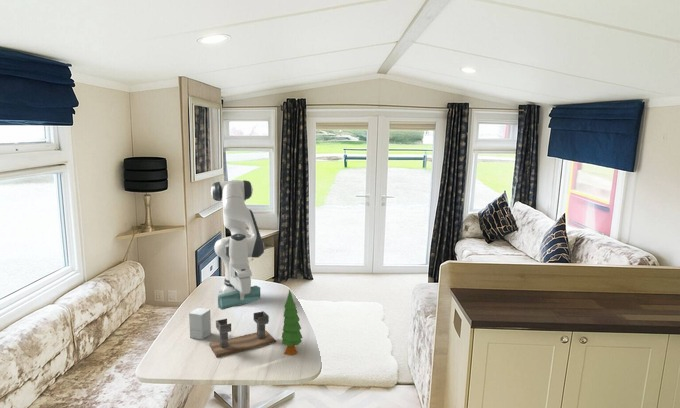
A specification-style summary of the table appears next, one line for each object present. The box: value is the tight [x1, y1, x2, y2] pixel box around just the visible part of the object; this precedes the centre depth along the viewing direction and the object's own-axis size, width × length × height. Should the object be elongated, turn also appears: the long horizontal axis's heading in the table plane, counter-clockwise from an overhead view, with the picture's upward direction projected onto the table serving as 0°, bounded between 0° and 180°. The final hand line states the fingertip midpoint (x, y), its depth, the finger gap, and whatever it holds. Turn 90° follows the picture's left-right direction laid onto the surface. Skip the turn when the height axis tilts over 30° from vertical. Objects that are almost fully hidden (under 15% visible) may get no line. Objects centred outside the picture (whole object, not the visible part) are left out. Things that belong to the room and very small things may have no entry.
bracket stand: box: [208, 310, 276, 358], centre depth 194 cm, size 12×28×13 cm, turn 122°
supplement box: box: [188, 307, 212, 341], centre depth 202 cm, size 7×7×13 cm
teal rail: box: [217, 285, 261, 310], centre depth 195 cm, size 4×20×6 cm, turn 133°
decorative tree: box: [281, 289, 303, 356], centre depth 187 cm, size 10×9×30 cm
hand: (239, 297), depth 195 cm, fingers closed on teal rail, 4 cm apart
